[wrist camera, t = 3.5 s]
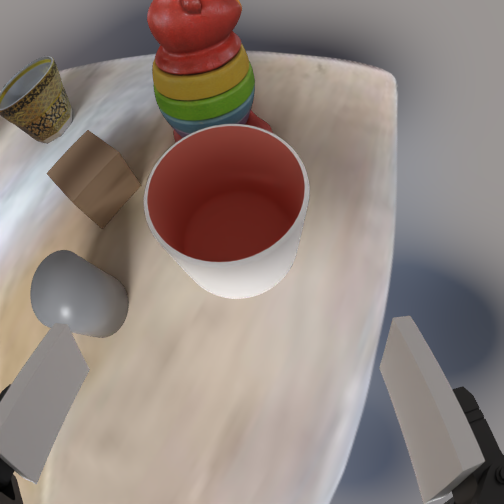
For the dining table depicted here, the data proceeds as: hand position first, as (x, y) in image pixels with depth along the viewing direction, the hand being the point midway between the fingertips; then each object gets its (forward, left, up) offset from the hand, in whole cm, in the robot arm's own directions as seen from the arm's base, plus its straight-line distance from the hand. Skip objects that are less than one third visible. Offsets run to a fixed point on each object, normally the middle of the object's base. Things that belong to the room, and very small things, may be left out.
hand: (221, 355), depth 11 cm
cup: (-8, +4, -14) cm, 17 cm away
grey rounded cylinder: (-10, -10, -13) cm, 20 cm away
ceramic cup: (-40, -10, -14) cm, 44 cm away
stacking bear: (-21, +9, -14) cm, 27 cm away
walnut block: (-21, -5, -14) cm, 26 cm away
